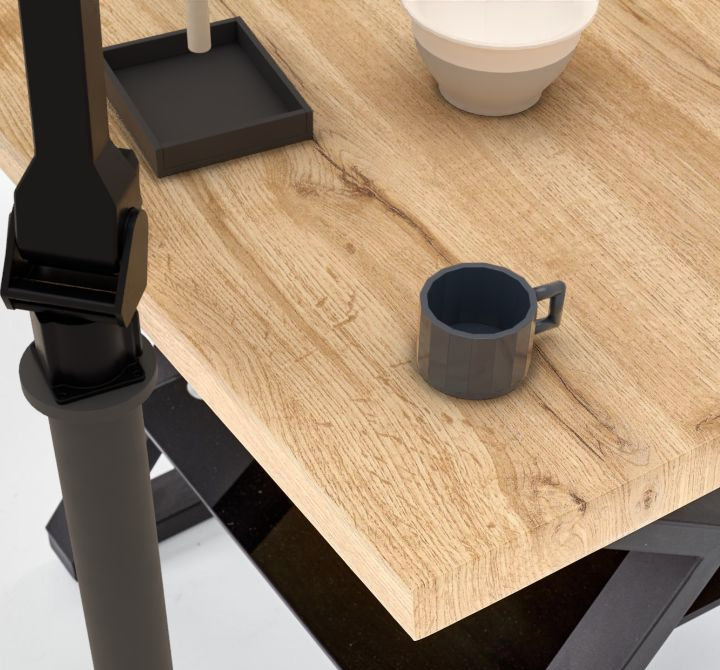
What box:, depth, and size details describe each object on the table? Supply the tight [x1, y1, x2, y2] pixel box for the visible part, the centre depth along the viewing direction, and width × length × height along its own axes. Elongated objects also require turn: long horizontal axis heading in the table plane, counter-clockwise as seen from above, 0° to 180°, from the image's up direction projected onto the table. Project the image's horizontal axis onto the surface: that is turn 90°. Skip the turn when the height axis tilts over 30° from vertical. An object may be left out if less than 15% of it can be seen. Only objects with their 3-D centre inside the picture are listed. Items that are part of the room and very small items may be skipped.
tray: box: [103, 15, 314, 179], centre depth 128 cm, size 13×15×3 cm
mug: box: [415, 261, 567, 401], centre depth 107 cm, size 11×8×6 cm
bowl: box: [399, 0, 600, 117], centre depth 128 cm, size 16×16×8 cm
